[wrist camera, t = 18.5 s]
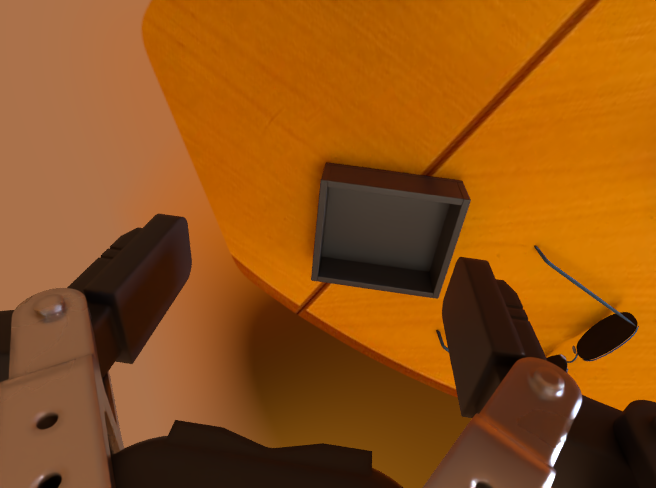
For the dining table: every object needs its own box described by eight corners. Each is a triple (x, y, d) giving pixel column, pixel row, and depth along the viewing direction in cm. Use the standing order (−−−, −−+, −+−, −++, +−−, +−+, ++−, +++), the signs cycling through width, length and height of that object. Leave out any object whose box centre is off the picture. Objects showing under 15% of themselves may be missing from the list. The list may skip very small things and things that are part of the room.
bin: (316, 257, 49) (311, 280, 45) (326, 162, 42) (320, 179, 38) (433, 274, 48) (438, 298, 44) (462, 180, 41) (471, 200, 38)
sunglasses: (516, 378, 56) (524, 407, 52) (434, 322, 55) (435, 347, 51) (627, 304, 48) (646, 332, 43) (532, 235, 46) (543, 257, 42)
